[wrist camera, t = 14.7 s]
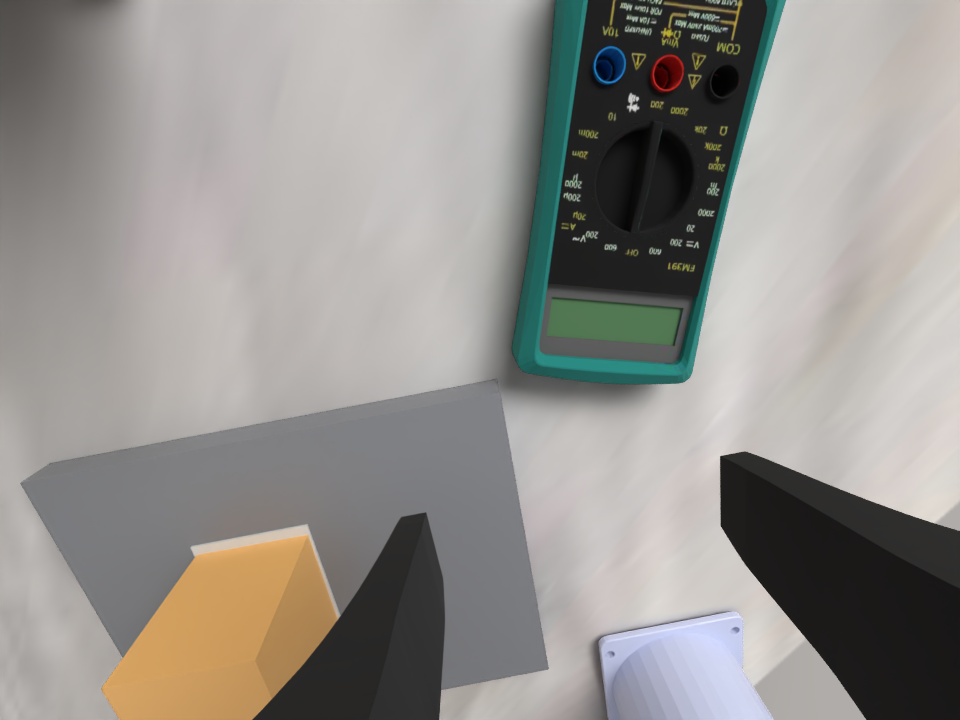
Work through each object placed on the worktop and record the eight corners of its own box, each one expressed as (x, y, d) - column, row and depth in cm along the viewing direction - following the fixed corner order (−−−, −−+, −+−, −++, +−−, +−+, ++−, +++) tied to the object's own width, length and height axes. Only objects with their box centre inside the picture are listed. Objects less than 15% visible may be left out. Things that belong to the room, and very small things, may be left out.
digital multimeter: (754, -15, 17) (815, -58, 14) (664, 370, 21) (697, 394, 19) (557, -45, 16) (579, -97, 13) (507, 358, 21) (517, 382, 18)
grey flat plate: (543, 643, 26) (552, 684, 24) (187, 711, 26) (163, 759, 23) (496, 379, 21) (502, 400, 18) (49, 463, 20) (2, 494, 18)
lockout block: (337, 619, 22) (300, 761, 17) (234, 638, 22) (161, 787, 17) (308, 534, 21) (255, 660, 15) (196, 555, 21) (100, 689, 15)
